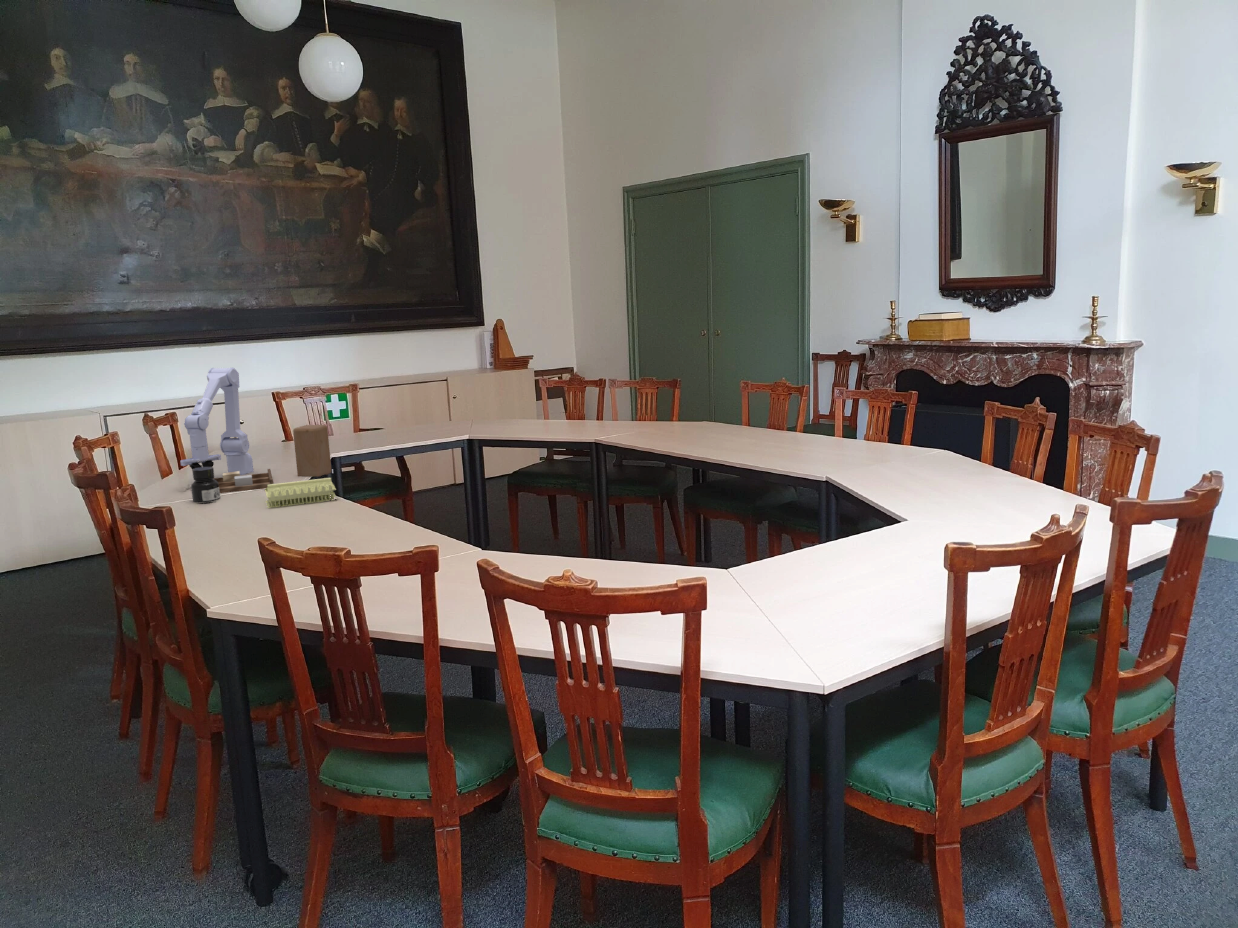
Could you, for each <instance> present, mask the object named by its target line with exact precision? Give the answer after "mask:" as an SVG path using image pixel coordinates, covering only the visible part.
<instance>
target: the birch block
mask: <svg viewBox="0 0 1238 928" xmlns="http://www.w3.org/2000/svg"><path fill="white" fill-rule="evenodd" d="M235 476H241V475H240V472H239V471H236V472H228V471H227V472H224V473H222V477H223V481H224V482H233V481H235V478H234V477H235Z"/></svg>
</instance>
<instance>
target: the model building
mask: <svg viewBox="0 0 1238 928" xmlns="http://www.w3.org/2000/svg"><path fill="white" fill-rule="evenodd" d="M336 490H337V488H336V486H335V484H334V483H333V482H332V477H324V478H317V479H315V478H313V479H308V480H297V481H289V482H279V483H273V484H269V485H267V488H265V489H264V492H265V495H266V498H267V499H268V500H265V504H266V503H267V504H266V509H272V508H278V507H280V506H281V507H287V506H296V505H305V504H304V503H306V504H312V503H313V504H315V503H321V502H330V501H329V500H331V501H333V500H332V499H334V497H337V495H336V494H335V492H334V491H336ZM330 495H331V496H330ZM330 497H331V498H330ZM267 506H268V507H267Z"/></svg>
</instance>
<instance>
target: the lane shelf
mask: <svg viewBox="0 0 1238 928" xmlns="http://www.w3.org/2000/svg"><path fill="white" fill-rule="evenodd" d="M244 475H245V474H244ZM244 475H240V476H244ZM249 475H252V482H253V485H247V486H238V487H235V481H233V482H224V481H223V476H221V477H214V478H213V479H215V480H216V481H217V482H218V483H219V491H220V494H226V493H236V492H244V491H245V492H247V491H253V490H255V491H256V490H265V489H266V488H267V485H269V484H274V480H273V475H272V471H271V468H267V472H263V473H262V472H261V473H252V474H250V473H249Z"/></svg>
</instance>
